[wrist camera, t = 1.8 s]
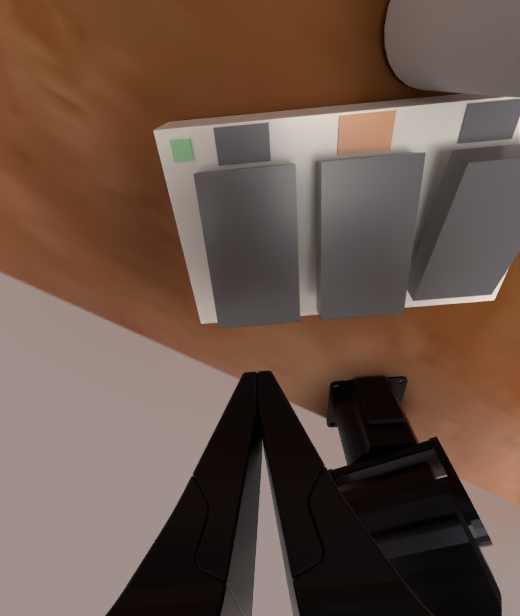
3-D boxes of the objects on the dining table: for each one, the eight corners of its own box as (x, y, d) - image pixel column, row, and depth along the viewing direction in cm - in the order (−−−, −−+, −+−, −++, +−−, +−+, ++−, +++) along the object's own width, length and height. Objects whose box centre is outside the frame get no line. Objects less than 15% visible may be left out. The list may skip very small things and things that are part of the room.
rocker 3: (479, 279, 17) (491, 294, 16) (404, 285, 17) (413, 301, 16) (559, 140, 12) (583, 152, 11) (452, 149, 12) (468, 162, 11)
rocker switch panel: (465, 273, 20) (496, 302, 18) (206, 295, 21) (200, 326, 18) (532, 87, 15) (593, 89, 12) (168, 121, 15) (151, 130, 12)
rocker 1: (297, 310, 16) (300, 321, 15) (221, 316, 16) (218, 328, 15) (292, 163, 13) (295, 164, 12) (198, 171, 13) (193, 173, 12)
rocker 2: (393, 302, 16) (403, 313, 15) (316, 309, 16) (320, 320, 15) (411, 152, 13) (425, 152, 12) (316, 161, 13) (321, 162, 12)
